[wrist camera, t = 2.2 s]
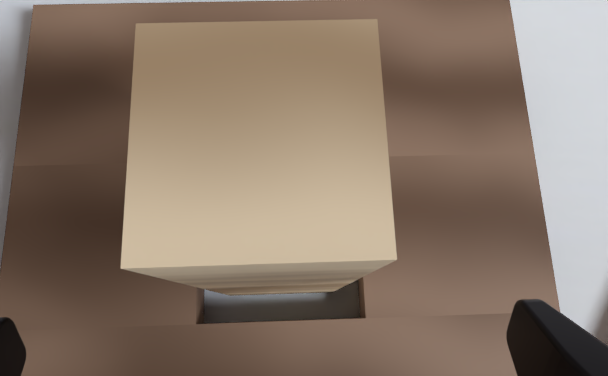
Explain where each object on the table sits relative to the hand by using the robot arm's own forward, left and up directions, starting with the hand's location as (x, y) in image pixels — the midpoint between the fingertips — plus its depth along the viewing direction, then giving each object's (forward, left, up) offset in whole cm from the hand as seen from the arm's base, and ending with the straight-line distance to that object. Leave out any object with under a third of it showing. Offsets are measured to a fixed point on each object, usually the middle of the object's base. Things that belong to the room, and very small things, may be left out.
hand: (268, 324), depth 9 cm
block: (+2, +2, -10) cm, 10 cm away
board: (+2, +2, -10) cm, 10 cm away
